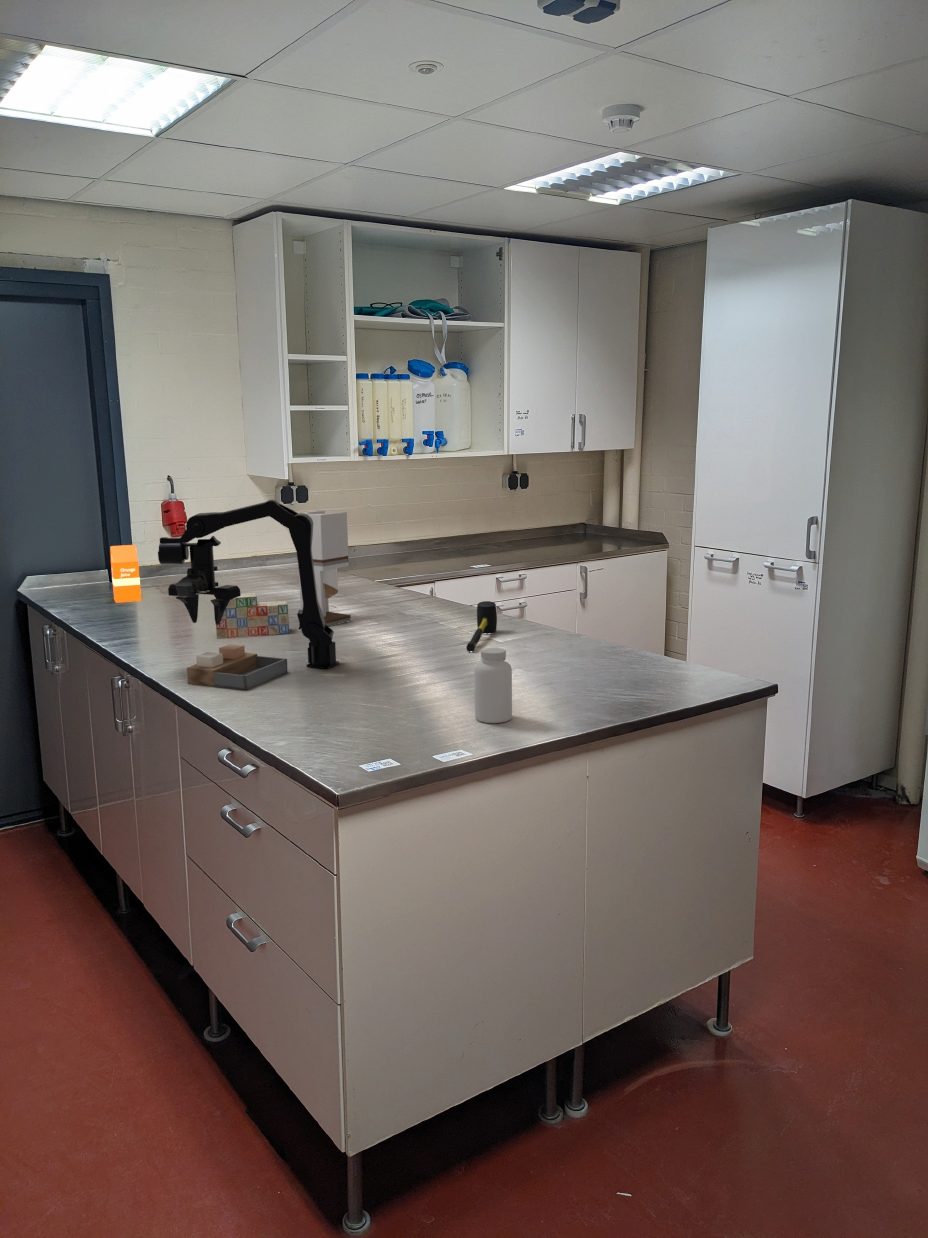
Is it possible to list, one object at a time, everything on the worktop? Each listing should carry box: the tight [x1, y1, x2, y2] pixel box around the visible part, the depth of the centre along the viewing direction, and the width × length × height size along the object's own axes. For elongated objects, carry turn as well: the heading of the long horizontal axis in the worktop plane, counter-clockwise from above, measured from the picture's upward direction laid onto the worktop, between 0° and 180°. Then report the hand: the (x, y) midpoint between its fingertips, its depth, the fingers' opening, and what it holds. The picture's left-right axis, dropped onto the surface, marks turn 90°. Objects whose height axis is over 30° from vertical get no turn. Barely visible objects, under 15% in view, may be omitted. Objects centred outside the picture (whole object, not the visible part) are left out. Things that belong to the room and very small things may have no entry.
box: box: [214, 655, 289, 691], centre depth 234 cm, size 9×18×4 cm, turn 157°
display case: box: [297, 510, 352, 627], centre depth 298 cm, size 11×11×35 cm
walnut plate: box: [186, 652, 258, 688], centre depth 238 cm, size 8×18×4 cm, turn 157°
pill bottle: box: [473, 647, 513, 724], centre depth 200 cm, size 8×8×15 cm
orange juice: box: [110, 544, 142, 604], centre depth 342 cm, size 8×9×20 cm
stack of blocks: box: [213, 592, 290, 640], centre depth 284 cm, size 21×6×12 cm, turn 106°
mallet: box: [466, 600, 498, 652], centre depth 273 cm, size 29×6×10 cm, turn 169°
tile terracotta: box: [218, 643, 246, 659], centre depth 241 cm, size 4×4×2 cm
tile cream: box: [195, 651, 223, 668], centre depth 233 cm, size 4×4×2 cm
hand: (206, 623), depth 243 cm, fingers open, 7 cm apart
